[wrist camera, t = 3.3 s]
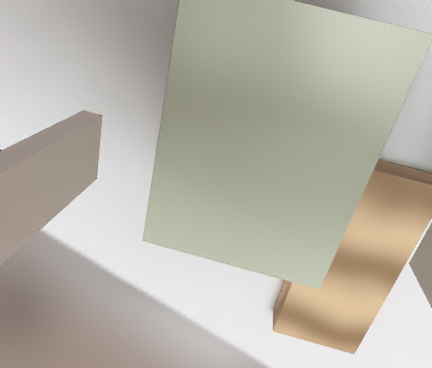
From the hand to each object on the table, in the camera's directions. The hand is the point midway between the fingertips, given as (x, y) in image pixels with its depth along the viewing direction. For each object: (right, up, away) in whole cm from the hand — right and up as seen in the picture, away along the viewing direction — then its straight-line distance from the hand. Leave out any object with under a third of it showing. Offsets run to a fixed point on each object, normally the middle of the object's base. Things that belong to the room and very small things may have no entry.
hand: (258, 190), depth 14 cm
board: (+9, -5, +16) cm, 19 cm away
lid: (+1, +3, +5) cm, 6 cm away
